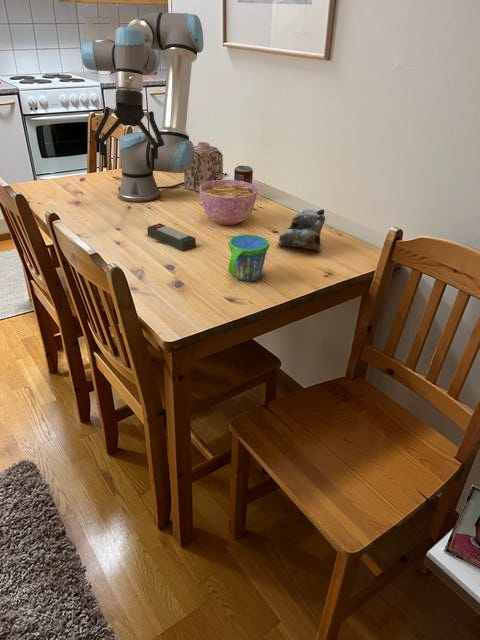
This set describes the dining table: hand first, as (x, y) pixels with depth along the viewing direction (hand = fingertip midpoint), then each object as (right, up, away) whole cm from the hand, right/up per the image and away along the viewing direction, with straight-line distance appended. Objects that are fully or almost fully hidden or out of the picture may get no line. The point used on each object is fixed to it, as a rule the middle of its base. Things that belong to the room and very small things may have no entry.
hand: (129, 169), depth 144 cm
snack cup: (+35, -33, -10) cm, 49 cm away
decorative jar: (+18, +10, +57) cm, 60 cm away
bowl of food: (+29, -10, +25) cm, 40 cm away
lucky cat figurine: (+52, -22, +8) cm, 57 cm away
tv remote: (+11, -20, +9) cm, 24 cm away
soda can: (+34, +3, +47) cm, 58 cm away
